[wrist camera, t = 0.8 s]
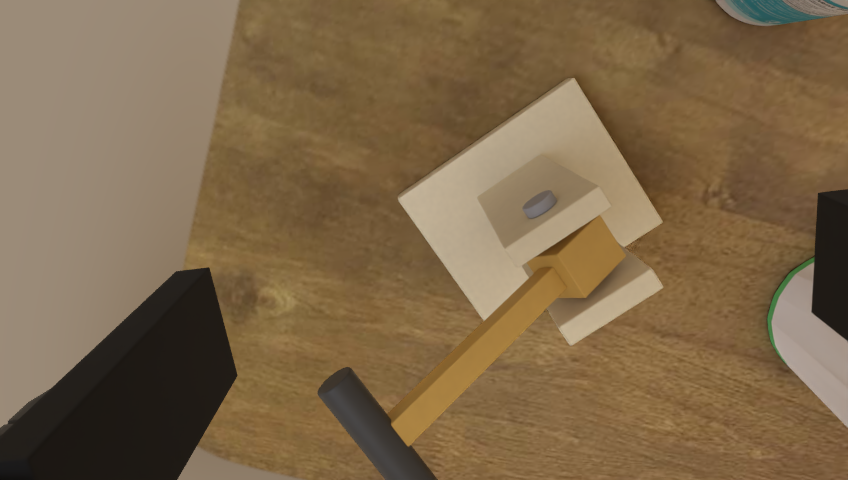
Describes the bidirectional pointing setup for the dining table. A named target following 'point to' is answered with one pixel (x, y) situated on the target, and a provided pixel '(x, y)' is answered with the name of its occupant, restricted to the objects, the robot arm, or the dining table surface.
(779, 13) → the pill bottle
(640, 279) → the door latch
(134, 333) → the robot arm
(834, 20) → the dining table surface
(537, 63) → the dining table surface
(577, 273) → the latch lever
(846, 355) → the cup
